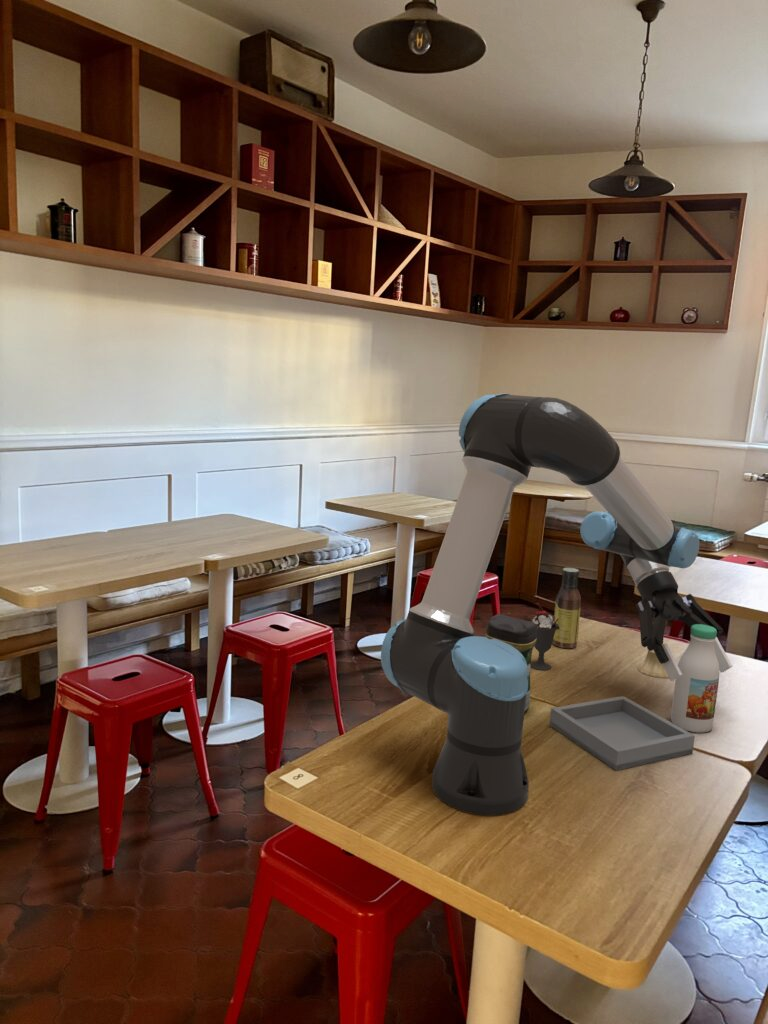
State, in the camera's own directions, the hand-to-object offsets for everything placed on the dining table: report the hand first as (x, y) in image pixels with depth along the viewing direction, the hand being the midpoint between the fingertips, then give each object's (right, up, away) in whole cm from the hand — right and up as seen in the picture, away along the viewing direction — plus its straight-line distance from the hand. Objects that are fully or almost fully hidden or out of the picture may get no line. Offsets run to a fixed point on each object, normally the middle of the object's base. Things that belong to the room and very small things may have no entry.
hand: (702, 673), depth 146 cm
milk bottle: (-1, -11, +2) cm, 11 cm away
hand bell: (+2, -6, +30) cm, 31 cm away
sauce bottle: (-16, -3, +44) cm, 47 cm away
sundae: (-25, -5, +29) cm, 39 cm away
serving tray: (-18, -11, -6) cm, 22 cm away
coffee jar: (-37, -8, +5) cm, 39 cm away
